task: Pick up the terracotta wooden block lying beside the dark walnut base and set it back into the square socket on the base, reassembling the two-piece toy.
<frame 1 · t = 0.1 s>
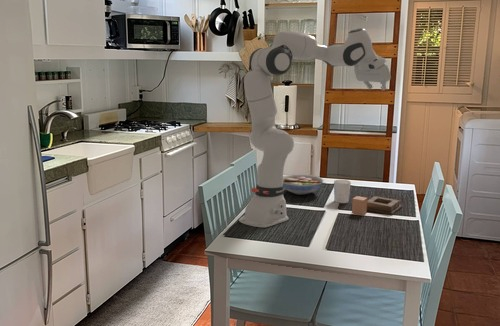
hand: (377, 89, 221), 54 cm above the table, tool tilted 30°, fingers open, 8 cm apart
white cup: (341, 201, 231), on the table
ramen bowl: (300, 193, 245), on the table
walnut socket base: (382, 208, 221), on the table
terracotta block: (359, 213, 214), on the table
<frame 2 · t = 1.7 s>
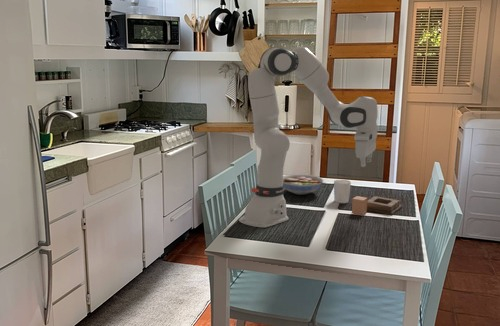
hand: (366, 164, 211), 22 cm above the table, tool pointing down, fingers open, 8 cm apart
nothing on the table moved.
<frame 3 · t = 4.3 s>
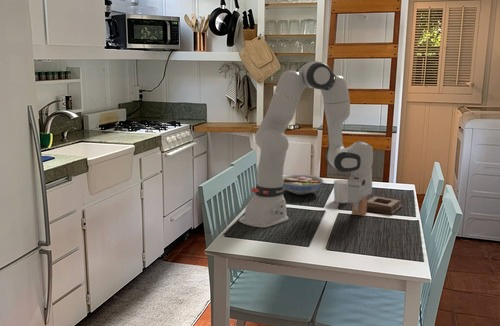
hand: (359, 208, 213), 2 cm above the table, tool pointing down, fingers closed on terracotta block, 5 cm apart
terracotta block: (359, 213, 214), on the table, touching gripper
everything else where it was.
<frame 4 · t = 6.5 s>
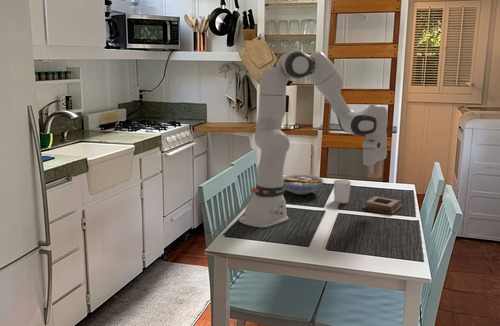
hand: (374, 171, 213), 18 cm above the table, tool pointing down, fingers closed on terracotta block, 5 cm apart
terracotta block: (374, 176, 214), point 16 cm above the table, touching gripper
everything else where it was.
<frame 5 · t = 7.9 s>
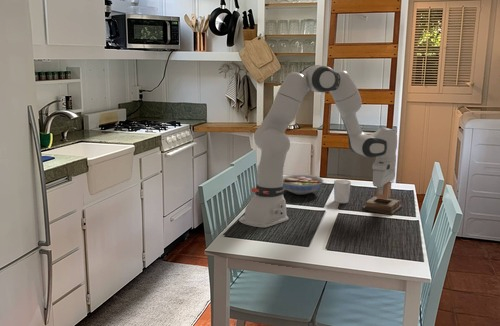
hand: (383, 192, 219), 8 cm above the table, tool pointing down, fingers closed on terracotta block, 5 cm apart
terracotta block: (383, 197, 220), point 5 cm above the table, touching gripper
everything else where it was.
when the fingers open (4 cm above the table, at t = 8.9 s): terracotta block drops 1 cm, resting on walnut socket base.
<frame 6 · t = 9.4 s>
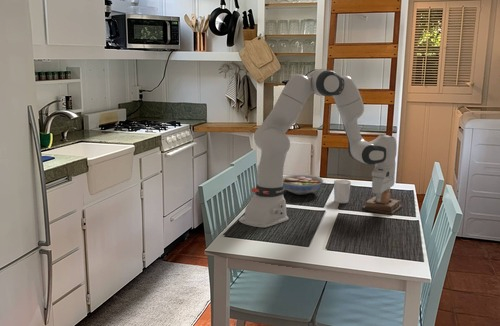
hand: (382, 199, 220), 4 cm above the table, tool pointing down, fingers open, 8 cm apart
terracotta block: (382, 206, 221), point 1 cm above the table, touching walnut socket base
everything else where it was.
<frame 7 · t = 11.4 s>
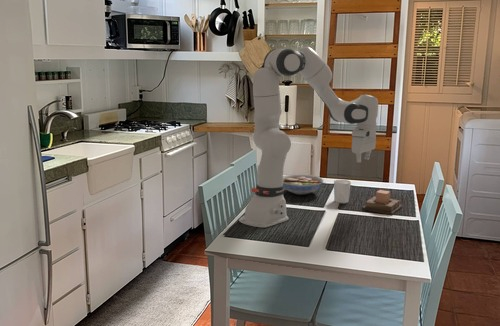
hand: (362, 161, 217), 22 cm above the table, tool pointing down, fingers open, 8 cm apart
nothing on the table moved.
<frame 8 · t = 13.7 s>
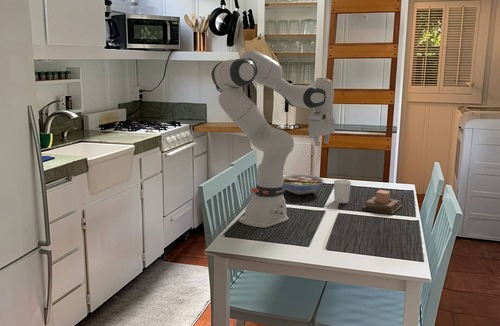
hand: (321, 144, 219), 29 cm above the table, tool pointing down, fingers open, 8 cm apart
nothing on the table moved.
at the end: terracotta block 0.1 cm off-centre on the walnut socket base, point 1.0 cm above the walnut socket base's base; terracotta block tilted 0°; the gripper is holding nothing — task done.
